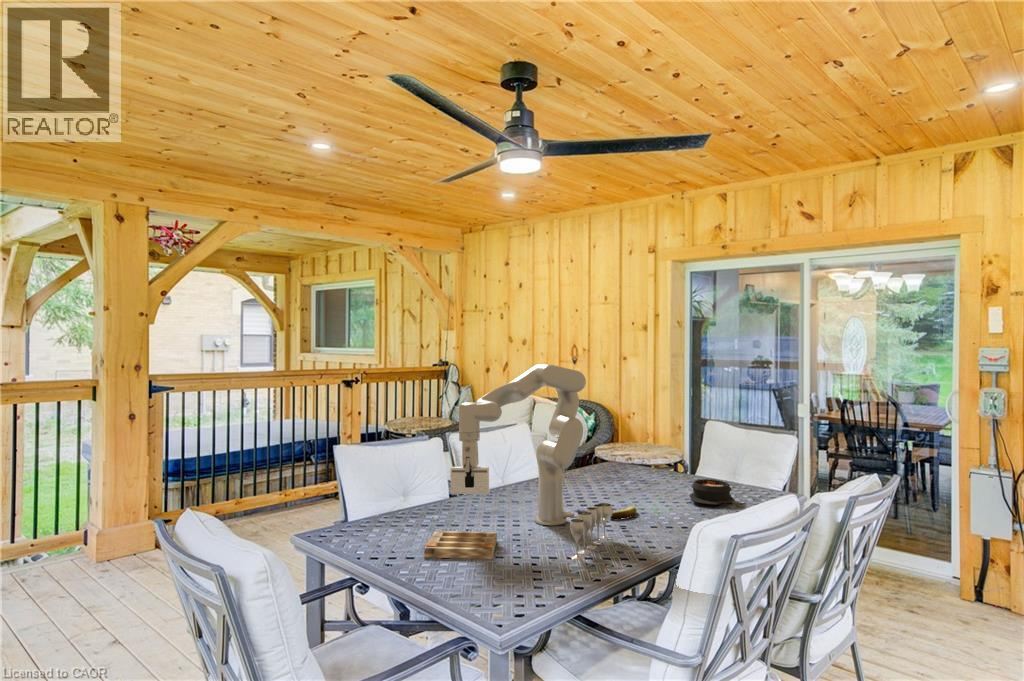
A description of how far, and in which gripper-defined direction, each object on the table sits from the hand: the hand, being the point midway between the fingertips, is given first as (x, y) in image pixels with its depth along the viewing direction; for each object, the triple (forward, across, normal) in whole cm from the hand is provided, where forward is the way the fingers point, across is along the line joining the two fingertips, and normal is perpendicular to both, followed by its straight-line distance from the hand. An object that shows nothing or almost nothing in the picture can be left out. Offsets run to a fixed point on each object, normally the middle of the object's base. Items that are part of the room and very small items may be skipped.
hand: (470, 485), depth 217 cm
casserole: (+20, +52, -101) cm, 115 cm away
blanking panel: (+3, 0, 0) cm, 3 cm away
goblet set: (+18, -12, -43) cm, 49 cm away
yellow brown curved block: (+19, +27, -59) cm, 68 cm away
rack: (+17, -17, +1) cm, 24 cm away
